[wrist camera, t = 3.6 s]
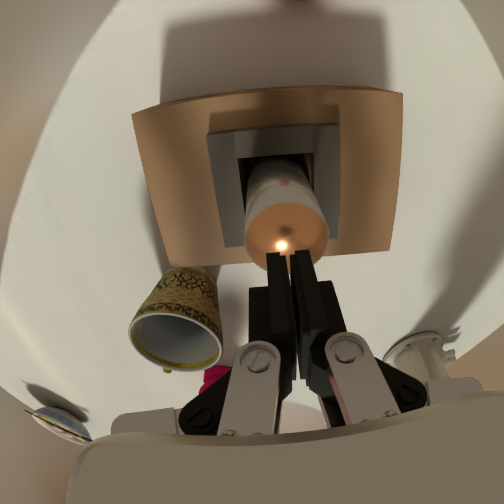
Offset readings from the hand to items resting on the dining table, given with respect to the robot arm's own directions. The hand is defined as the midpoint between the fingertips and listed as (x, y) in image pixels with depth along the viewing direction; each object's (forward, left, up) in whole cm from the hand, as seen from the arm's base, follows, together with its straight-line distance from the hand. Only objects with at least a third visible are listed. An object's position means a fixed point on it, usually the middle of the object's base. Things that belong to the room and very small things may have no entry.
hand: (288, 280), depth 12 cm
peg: (0, 0, -12) cm, 12 cm away
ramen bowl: (+71, +69, -19) cm, 101 cm away
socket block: (0, 0, -19) cm, 19 cm away
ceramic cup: (+12, +16, -19) cm, 28 cm away
